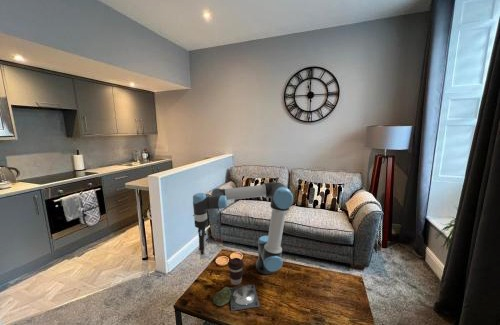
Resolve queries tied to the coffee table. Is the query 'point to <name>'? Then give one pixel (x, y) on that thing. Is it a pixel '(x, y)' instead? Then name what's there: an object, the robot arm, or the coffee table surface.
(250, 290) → the duct flange
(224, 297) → the seashell
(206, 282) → the coffee table surface
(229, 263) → the coffee cup
